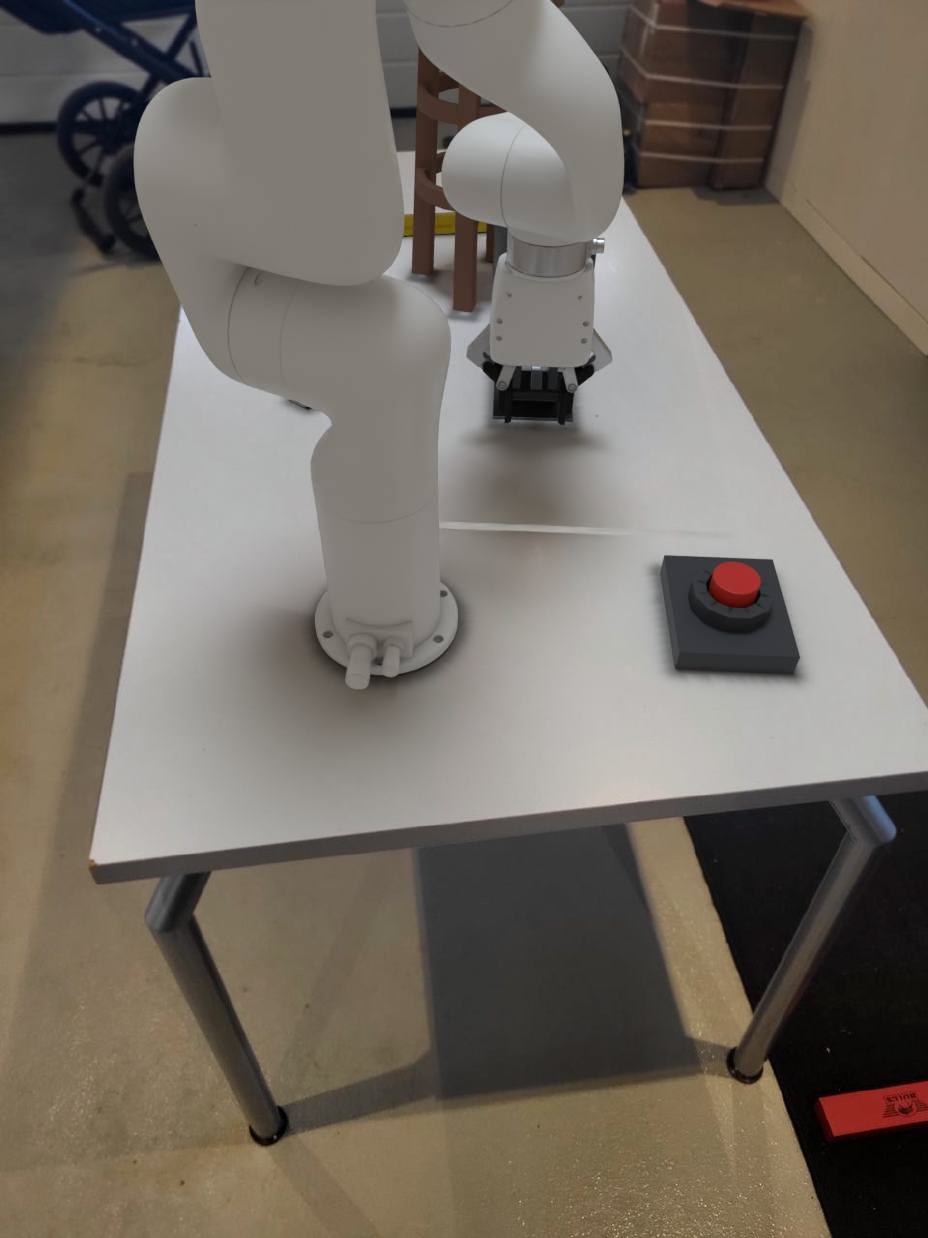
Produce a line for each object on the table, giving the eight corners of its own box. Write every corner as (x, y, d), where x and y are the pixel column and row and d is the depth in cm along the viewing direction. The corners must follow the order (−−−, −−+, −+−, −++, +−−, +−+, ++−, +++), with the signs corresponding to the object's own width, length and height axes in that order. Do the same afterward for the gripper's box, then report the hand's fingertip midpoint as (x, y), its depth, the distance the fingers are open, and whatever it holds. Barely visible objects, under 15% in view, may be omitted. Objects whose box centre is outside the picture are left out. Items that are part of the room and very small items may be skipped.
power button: (759, 609, 75) (764, 594, 74) (712, 607, 75) (716, 593, 74) (751, 576, 78) (756, 562, 76) (705, 575, 78) (710, 560, 77)
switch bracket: (572, 428, 99) (583, 331, 91) (492, 425, 100) (495, 328, 91) (569, 380, 106) (579, 286, 98) (494, 377, 106) (497, 283, 98)
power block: (793, 674, 75) (806, 642, 72) (674, 669, 75) (683, 637, 72) (766, 576, 83) (778, 544, 80) (660, 571, 83) (667, 540, 80)
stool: (430, -45, 106) (591, -33, 102) (434, 245, 131) (563, 263, 128) (374, -8, 93) (557, 7, 89) (391, 307, 118) (534, 328, 115)
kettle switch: (558, 406, 94) (560, 393, 91) (511, 404, 94) (512, 392, 91) (560, 319, 97) (562, 305, 95) (514, 317, 97) (515, 303, 95)
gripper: (636, 234, 84) (611, 400, 97) (457, 229, 84) (456, 395, 98) (643, 270, 79) (616, 440, 92) (452, 264, 79) (453, 434, 92)
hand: (534, 415), depth 95 cm, fingers closed on kettle switch, 5 cm apart
